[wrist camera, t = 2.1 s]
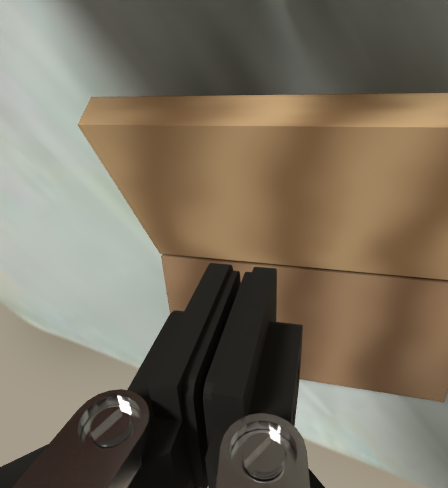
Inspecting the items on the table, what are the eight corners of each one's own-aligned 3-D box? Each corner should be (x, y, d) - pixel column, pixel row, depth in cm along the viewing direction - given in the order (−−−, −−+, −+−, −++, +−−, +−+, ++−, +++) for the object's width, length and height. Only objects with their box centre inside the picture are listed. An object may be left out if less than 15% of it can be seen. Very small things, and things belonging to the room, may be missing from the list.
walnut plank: (471, 268, 25) (479, 286, 24) (438, 381, 30) (443, 402, 29) (170, 243, 30) (161, 256, 29) (185, 343, 35) (177, 359, 34)
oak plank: (597, 91, 14) (610, 128, 13) (478, 255, 24) (481, 283, 24) (91, 97, 19) (77, 124, 18) (166, 231, 29) (160, 253, 29)
